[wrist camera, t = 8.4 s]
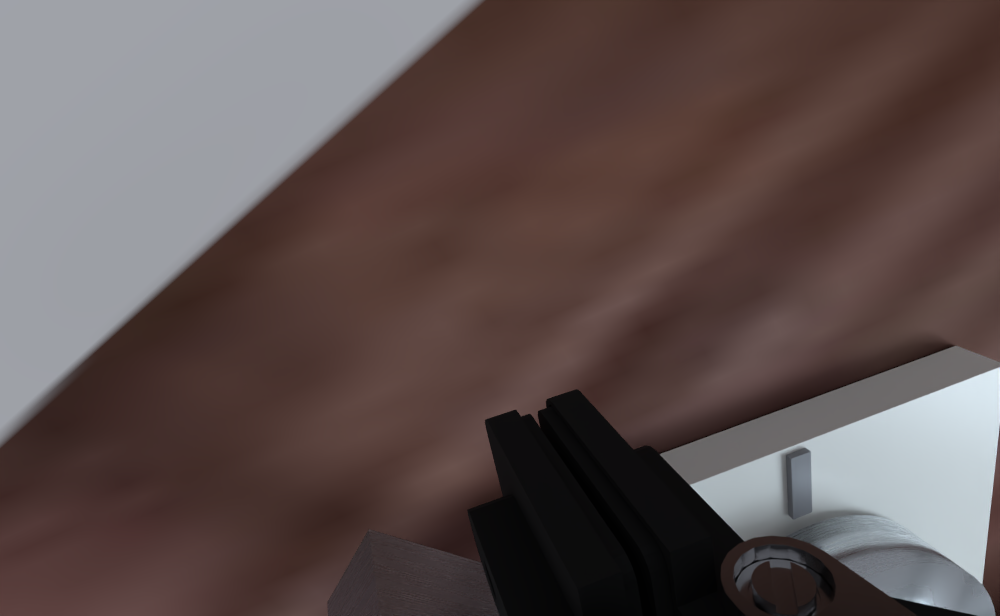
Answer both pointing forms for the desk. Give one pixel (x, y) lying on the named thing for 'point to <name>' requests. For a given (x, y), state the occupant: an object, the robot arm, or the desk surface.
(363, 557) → the dial
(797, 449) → the dial plate
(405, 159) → the desk surface
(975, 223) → the desk surface
